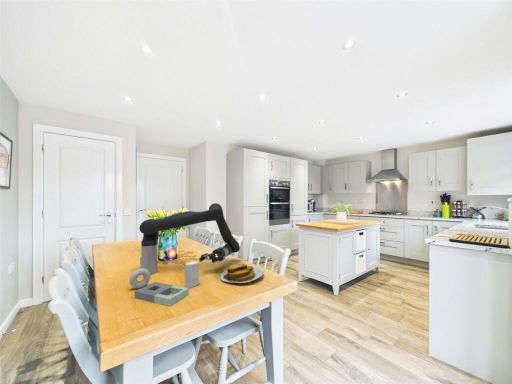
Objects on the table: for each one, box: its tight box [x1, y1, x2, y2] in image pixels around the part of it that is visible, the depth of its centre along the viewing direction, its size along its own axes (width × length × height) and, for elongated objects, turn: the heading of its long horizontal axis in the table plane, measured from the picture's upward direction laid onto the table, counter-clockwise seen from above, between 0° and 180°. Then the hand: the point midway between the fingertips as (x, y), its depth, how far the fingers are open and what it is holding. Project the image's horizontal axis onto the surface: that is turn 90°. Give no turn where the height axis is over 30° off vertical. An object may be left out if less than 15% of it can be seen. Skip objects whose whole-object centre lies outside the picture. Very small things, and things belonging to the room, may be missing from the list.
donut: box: [129, 268, 151, 289], centre depth 112 cm, size 10×4×10 cm, turn 135°
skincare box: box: [184, 261, 200, 289], centre depth 114 cm, size 6×4×12 cm
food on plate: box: [219, 263, 264, 287], centre depth 126 cm, size 25×25×7 cm
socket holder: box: [134, 281, 190, 307], centre depth 102 cm, size 22×12×3 cm, turn 68°
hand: (205, 260), depth 125 cm, fingers open, 8 cm apart
